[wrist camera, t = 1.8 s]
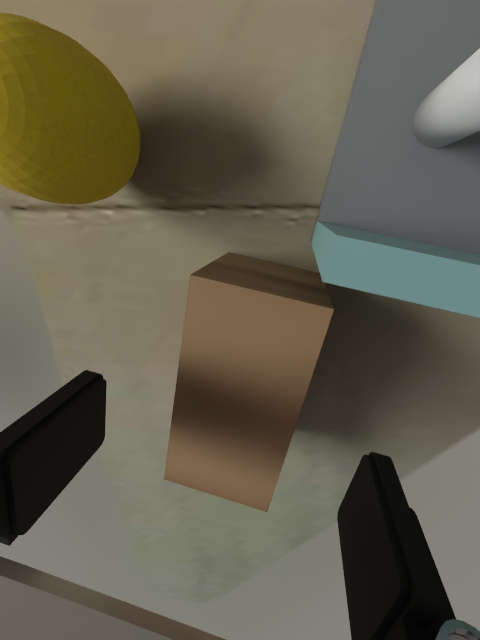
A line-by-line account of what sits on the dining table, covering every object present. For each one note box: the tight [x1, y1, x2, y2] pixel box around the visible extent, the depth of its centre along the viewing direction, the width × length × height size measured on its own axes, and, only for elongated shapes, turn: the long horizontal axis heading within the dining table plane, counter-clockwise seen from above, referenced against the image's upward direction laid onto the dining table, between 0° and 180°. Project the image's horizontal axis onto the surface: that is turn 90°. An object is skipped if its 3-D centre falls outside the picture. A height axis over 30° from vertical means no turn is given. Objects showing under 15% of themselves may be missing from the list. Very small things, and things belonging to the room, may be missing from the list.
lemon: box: [0, 13, 140, 204], centre depth 11 cm, size 6×6×8 cm
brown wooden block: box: [164, 253, 334, 512], centre depth 15 cm, size 10×5×6 cm, turn 168°
